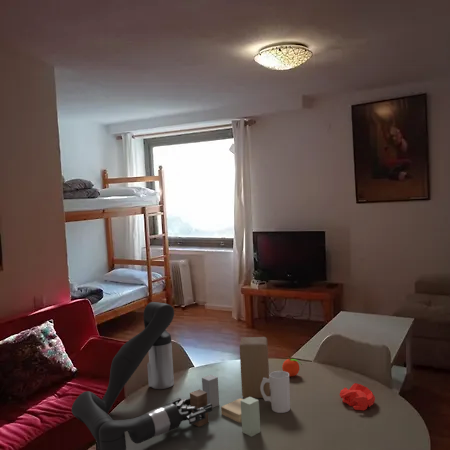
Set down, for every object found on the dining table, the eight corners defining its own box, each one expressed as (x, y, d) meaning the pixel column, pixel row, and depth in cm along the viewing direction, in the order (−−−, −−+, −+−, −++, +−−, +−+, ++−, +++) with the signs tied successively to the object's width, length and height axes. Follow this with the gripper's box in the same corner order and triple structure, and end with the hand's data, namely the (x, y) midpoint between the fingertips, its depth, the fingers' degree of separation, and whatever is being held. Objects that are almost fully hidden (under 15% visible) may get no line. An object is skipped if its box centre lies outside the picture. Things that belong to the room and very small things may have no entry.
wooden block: (269, 387, 173) (267, 336, 172) (269, 398, 163) (267, 344, 162) (243, 387, 174) (240, 336, 173) (242, 399, 164) (239, 344, 163)
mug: (290, 404, 158) (289, 370, 157) (291, 413, 151) (289, 378, 151) (262, 404, 159) (260, 370, 159) (260, 413, 153) (259, 378, 152)
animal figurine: (368, 392, 165) (368, 379, 164) (378, 411, 150) (378, 396, 150) (336, 393, 166) (336, 379, 166) (343, 411, 151) (342, 396, 151)
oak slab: (239, 424, 147) (239, 415, 147) (221, 415, 154) (221, 406, 153) (259, 414, 153) (258, 405, 153) (240, 406, 159) (240, 398, 159)
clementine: (303, 373, 186) (302, 356, 186) (302, 379, 179) (301, 362, 179) (283, 372, 188) (282, 355, 187) (281, 379, 181) (280, 361, 181)
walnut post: (198, 427, 145) (197, 396, 145) (191, 423, 148) (189, 393, 148) (208, 422, 148) (206, 392, 148) (201, 418, 151) (199, 389, 151)
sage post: (251, 436, 138) (249, 404, 137) (242, 432, 141) (240, 400, 140) (260, 431, 140) (258, 400, 140) (251, 427, 143) (249, 396, 143)
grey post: (210, 408, 158) (208, 380, 158) (203, 405, 161) (201, 377, 161) (219, 405, 161) (217, 377, 160) (212, 401, 164) (210, 374, 163)
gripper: (150, 424, 144) (191, 407, 155) (175, 440, 133) (218, 421, 144) (148, 401, 144) (190, 385, 154) (174, 415, 133) (216, 397, 144)
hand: (203, 402), depth 149 cm, fingers open, 8 cm apart
